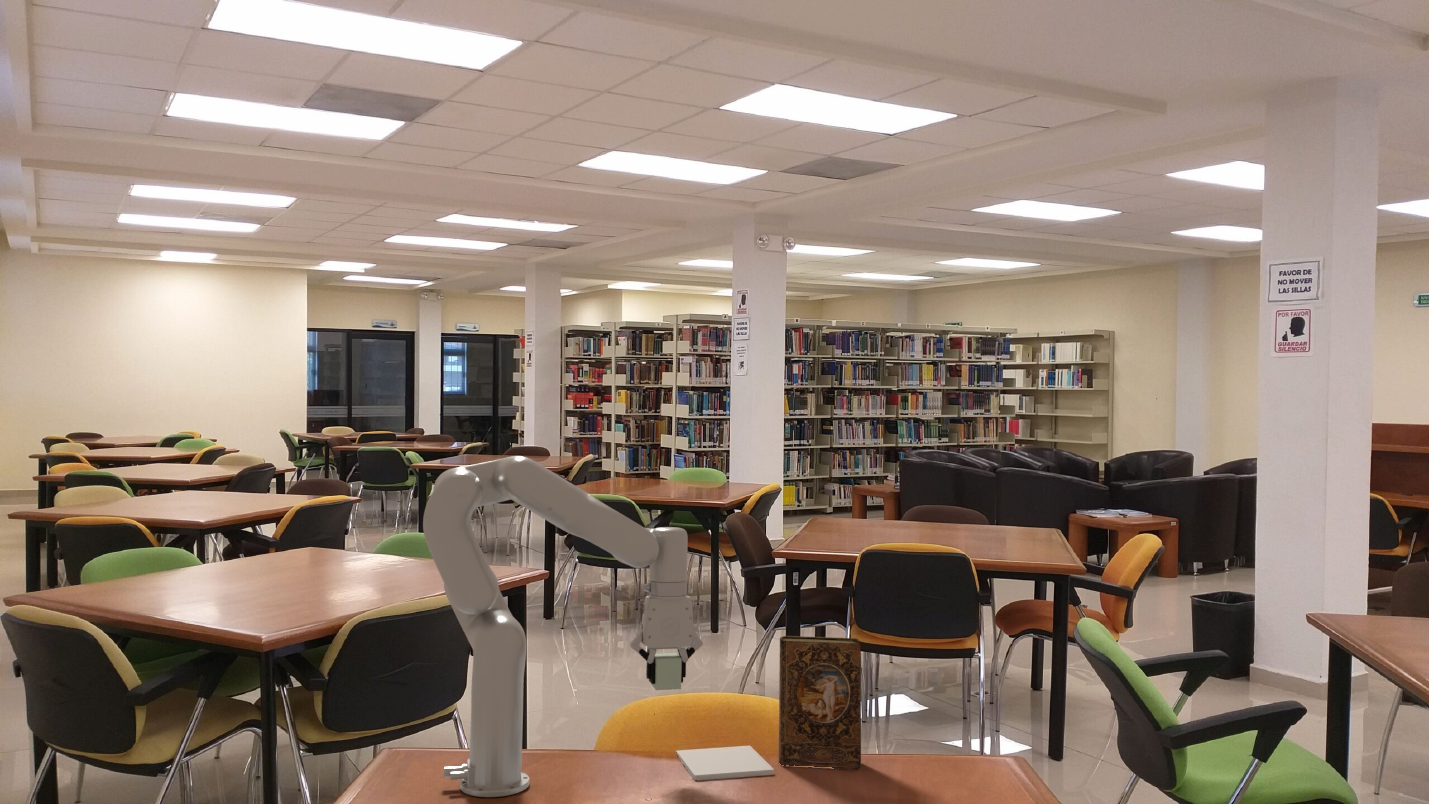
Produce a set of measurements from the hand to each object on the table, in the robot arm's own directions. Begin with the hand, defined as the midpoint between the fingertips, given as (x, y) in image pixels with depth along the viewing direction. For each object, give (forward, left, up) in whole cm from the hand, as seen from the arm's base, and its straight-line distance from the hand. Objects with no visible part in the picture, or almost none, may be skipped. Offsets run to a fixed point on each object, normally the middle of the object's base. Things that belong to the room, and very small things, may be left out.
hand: (666, 680), depth 192 cm
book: (+31, -4, -17) cm, 36 cm away
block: (0, 0, -1) cm, 1 cm away
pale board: (+12, 0, -17) cm, 21 cm away
